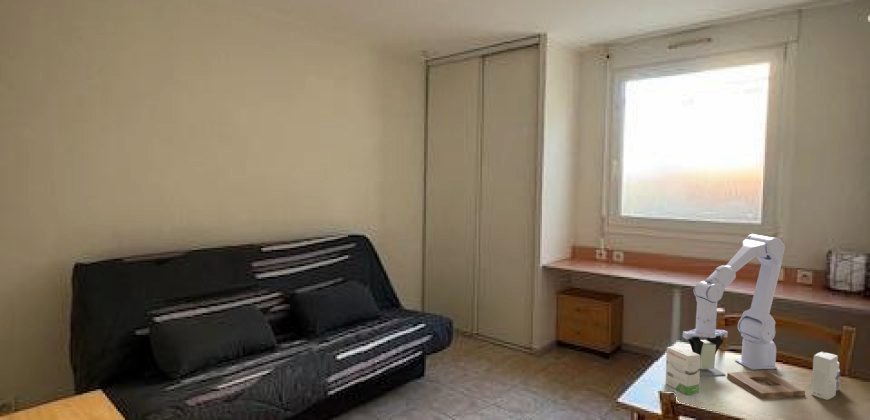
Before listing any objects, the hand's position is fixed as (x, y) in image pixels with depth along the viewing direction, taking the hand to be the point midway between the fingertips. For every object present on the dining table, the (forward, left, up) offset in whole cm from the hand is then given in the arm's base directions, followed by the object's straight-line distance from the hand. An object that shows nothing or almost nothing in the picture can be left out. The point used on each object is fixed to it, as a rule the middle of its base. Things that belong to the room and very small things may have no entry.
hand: (703, 358), depth 162 cm
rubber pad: (0, 0, -4) cm, 4 cm away
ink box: (+15, +11, -4) cm, 19 cm away
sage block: (0, 0, -2) cm, 2 cm away
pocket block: (-11, +13, -4) cm, 17 cm away
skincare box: (-24, +20, -4) cm, 32 cm away
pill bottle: (-30, +16, -4) cm, 34 cm away
